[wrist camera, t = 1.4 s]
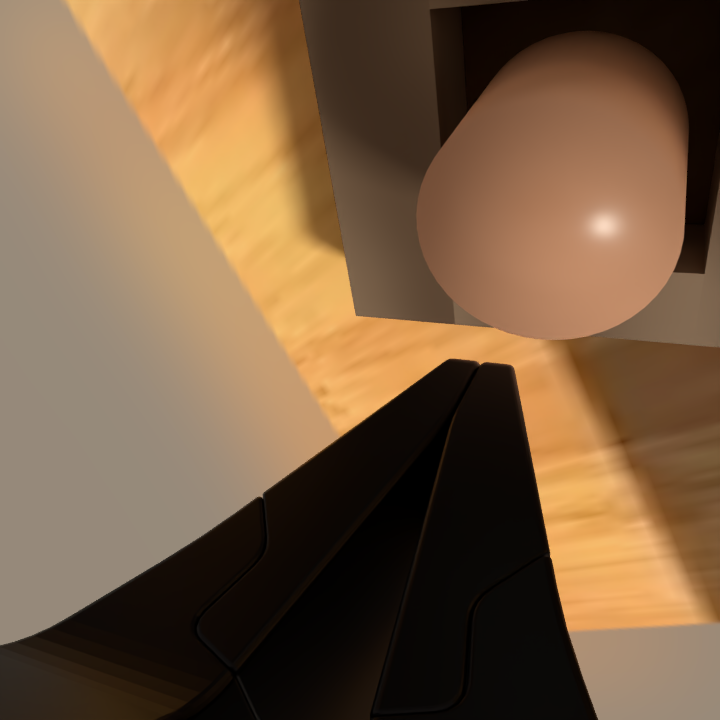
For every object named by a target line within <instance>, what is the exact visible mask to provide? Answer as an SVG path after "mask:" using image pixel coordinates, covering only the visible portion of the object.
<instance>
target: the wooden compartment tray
mask: <svg viewBox="0 0 720 720" xmlns="http://www.w3.org/2000/svg"><path fill="white" fill-rule="evenodd" d="M515 1H526V0H299V3H300V8H301V14H302V19H303V25H304V30H305V36H306V42H307V47H308V53H309V58H310V64H311V69H312V75H313V80H314V86H315V91H316V97H317V103H318V108H319V114H320V119H321V125H322V130H323V136H324V141H325V147H326V152H327V158H328V164H329V169H330V175H331V180H332V186H333V191H334V197H335V202H336V208H337V213H338V219H339V225H340V230H341V236H342V241H343V247H344V252H345V258H346V263H347V269H348V275H349V280H350V286H351V291H352V297H353V302H354V308H355V313H356V316H365V317H376V318H388V319H399V320H411V321H422V322H434V323H445V324H457V325H468V326H480V327H491V328H494V327H492V326H490V325H488V324H486V323H484V322H482V321H480V320H479V319H477V318H475V317H474V316H472V315H471V314H469V313H468V312H466V311H465V310H464V309H463V308H461V307H460V306H459V305H458V304H456V303H455V302H454V301H453V300H452V299H451V298H450V297H449V296H448V295H447V294H446V292H445V291H444V290H443V289H442V287H441V286H440V285H439V284H438V282H437V281H436V279H435V277H434V276H433V274H432V273H431V271H430V269H429V267H428V265H427V263H426V261H425V258H424V256H423V253H422V250H421V247H420V243H419V238H418V232H417V219H416V212H417V202H418V196H419V192H420V188H421V184H422V182H423V179H424V177H425V174H426V172H427V170H428V168H429V166H430V164H431V163H432V161H433V159H434V157H435V156H436V155H437V153H438V152H439V150H440V149H441V148H442V146H443V145H444V144H445V142H446V141H447V140H448V138H449V137H450V136H451V134H452V133H453V132H454V130H455V129H456V128H457V126H458V125H459V124H460V122H461V121H462V119H463V118H464V117H465V115H466V114H467V101H466V83H465V66H464V48H463V30H462V12H461V6H471V5H482V4H493V3H504V2H515ZM590 336H595V337H606V338H618V339H629V340H641V341H652V342H664V343H675V344H687V345H698V346H710V347H720V130H719V136H718V143H717V149H716V155H715V162H714V168H713V174H712V181H711V187H710V193H709V200H708V206H707V212H706V219H705V225H697V224H685V226H684V239H683V244H682V248H681V253H680V256H679V258H678V261H677V264H676V266H675V269H674V271H673V272H672V274H671V276H670V278H669V279H668V281H667V283H666V284H665V286H664V287H663V288H662V290H661V291H660V292H659V293H658V295H657V296H656V297H655V298H654V299H653V300H652V301H651V302H650V303H649V304H648V305H647V306H646V307H645V308H644V309H642V310H641V311H639V312H638V313H637V314H635V315H634V316H633V317H631V318H630V319H628V320H626V321H624V322H623V323H621V324H619V325H617V326H615V327H613V328H610V329H608V330H605V331H603V332H600V333H596V334H593V335H590Z"/></svg>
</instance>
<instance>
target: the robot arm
mask: <svg viewBox="0 0 720 720" xmlns="http://www.w3.org/2000/svg"><path fill="white" fill-rule="evenodd" d="M0 720H598V718H597V715H596V713H595V710H594V707H593V704H592V702H591V699H590V696H589V693H588V691H587V688H586V685H585V682H584V680H583V677H582V674H581V671H580V668H579V665H578V661H577V658H576V655H575V652H574V649H573V646H572V643H571V640H570V637H569V633H568V630H567V627H566V622H565V618H564V614H563V610H562V606H561V602H560V597H559V593H558V589H557V584H556V579H555V574H554V569H553V563H552V559H551V558H550V550H549V545H548V540H547V534H546V529H545V524H544V519H543V514H542V509H541V504H540V499H539V493H538V488H537V483H536V478H535V473H534V468H533V463H532V457H531V452H530V447H529V442H528V437H527V432H526V427H525V422H524V416H523V411H522V406H521V401H520V396H519V391H518V386H517V380H516V375H515V371H514V368H513V366H511V365H508V364H499V363H489V362H485V363H483V364H481V365H480V364H479V363H478V362H477V361H470V360H461V359H448V360H446V361H445V362H443V363H442V364H441V365H439V366H438V367H436V368H435V369H434V370H432V371H431V372H429V373H428V374H427V375H425V376H424V377H423V378H421V379H420V380H418V381H417V382H416V383H414V384H413V385H412V386H410V387H409V388H407V389H406V390H405V391H403V392H402V393H401V394H399V395H398V396H396V397H395V398H394V399H392V400H391V401H389V402H388V403H387V404H385V405H384V406H383V407H381V408H380V409H378V410H377V411H376V412H374V413H373V414H372V415H370V416H369V417H367V418H366V419H365V420H363V421H362V422H361V423H359V424H358V425H356V426H355V427H354V428H352V429H351V430H349V431H348V432H347V433H345V434H344V435H343V436H341V437H340V438H338V439H337V440H336V441H334V442H333V443H332V444H330V445H329V446H327V447H326V448H325V449H323V450H322V451H321V452H319V453H318V454H316V455H315V456H314V457H312V458H311V459H309V460H308V461H307V462H305V463H304V464H303V465H301V466H300V467H298V468H297V469H296V470H294V471H293V472H292V473H290V474H289V475H287V476H286V477H285V478H283V479H282V480H281V481H279V482H278V483H276V484H275V485H274V486H272V487H271V488H269V489H268V490H267V491H265V492H264V493H263V498H262V497H257V498H255V499H254V500H253V501H251V502H250V503H248V504H247V505H246V506H244V507H243V508H242V509H240V510H239V511H237V512H236V513H235V514H233V515H232V516H230V517H229V518H227V519H226V520H224V521H223V522H222V523H220V524H219V525H217V526H216V527H214V528H213V529H212V530H210V531H209V532H207V533H206V534H204V535H203V536H201V537H200V538H198V539H196V540H195V541H193V542H192V543H190V544H189V545H187V546H185V547H184V548H182V549H181V550H179V551H177V552H176V553H174V554H173V555H171V556H169V557H168V558H166V559H165V560H163V561H161V562H160V563H158V564H156V565H155V566H153V567H151V568H150V569H148V570H146V571H145V572H143V573H141V574H140V575H138V576H136V577H135V578H133V579H131V580H130V581H128V582H126V583H125V584H123V585H121V586H120V587H118V588H117V589H115V590H113V591H111V592H110V593H108V594H106V595H105V596H103V597H101V598H100V599H98V600H96V601H95V602H93V603H91V604H90V605H88V606H86V607H85V608H83V609H81V610H80V611H78V612H77V613H75V614H73V615H71V616H70V617H68V618H66V619H64V620H62V621H61V622H59V623H57V624H55V625H53V626H52V627H50V628H48V629H45V630H43V631H41V632H39V633H36V634H34V635H32V636H29V637H27V638H24V639H21V640H18V641H15V642H12V643H8V644H4V645H0Z"/></svg>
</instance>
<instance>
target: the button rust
mask: <svg viewBox="0 0 720 720" xmlns="http://www.w3.org/2000/svg"><path fill="white" fill-rule="evenodd" d="M688 140H689V119H688V111H687V106H686V102H685V98H684V96H683V93H682V91H681V89H680V86H679V84H678V82H677V81H676V79H675V77H674V76H673V74H672V73H671V71H670V70H669V69H668V68H667V67H666V65H665V64H664V63H663V62H662V61H661V60H660V59H659V58H658V57H657V56H656V55H654V54H653V53H652V52H651V51H650V50H648V49H646V48H645V47H643V46H642V45H640V44H638V43H636V42H634V41H632V40H630V39H628V38H625V37H622V36H619V35H615V34H612V33H607V32H600V31H574V32H567V33H561V34H558V35H554V36H551V37H547V38H545V39H543V40H540V41H538V42H536V43H534V44H532V45H530V46H529V47H527V48H525V49H523V50H522V51H520V52H519V53H518V54H516V55H515V56H514V57H513V58H511V59H510V60H509V61H508V62H507V63H506V64H505V65H504V66H503V67H502V68H501V69H500V70H499V71H498V73H497V74H496V75H495V76H494V78H493V79H492V80H491V82H490V83H489V84H488V86H487V87H486V88H485V90H484V91H483V92H482V94H481V95H480V97H479V98H478V99H477V101H476V102H475V103H474V105H473V106H472V107H471V109H470V110H469V111H468V113H467V114H466V115H465V117H464V118H463V119H462V121H461V122H460V124H459V125H458V126H457V128H456V129H455V130H454V132H453V133H452V134H451V136H450V137H449V138H448V140H447V141H446V142H445V144H444V145H443V146H442V148H441V149H440V150H439V152H438V153H437V155H436V156H435V157H434V159H433V161H432V163H431V164H430V166H429V168H428V170H427V172H426V174H425V177H424V179H423V182H422V184H421V188H420V192H419V196H418V202H417V212H416V219H417V232H418V238H419V243H420V247H421V250H422V253H423V256H424V258H425V261H426V263H427V265H428V267H429V269H430V271H431V273H432V274H433V276H434V277H435V279H436V281H437V282H438V284H439V285H440V286H441V287H442V289H443V290H444V291H445V292H446V294H447V295H448V296H449V297H450V298H451V299H452V300H453V301H454V302H455V303H456V304H458V305H459V306H460V307H461V308H463V309H464V310H465V311H466V312H468V313H469V314H471V315H472V316H474V317H475V318H477V319H479V320H480V321H482V322H484V323H486V324H488V325H490V326H492V327H494V328H496V329H499V330H502V331H505V332H507V333H510V334H514V335H518V336H522V337H527V338H534V339H545V340H562V339H574V338H580V337H585V336H590V335H593V334H596V333H600V332H603V331H605V330H608V329H610V328H613V327H615V326H617V325H619V324H621V323H623V322H624V321H626V320H628V319H630V318H631V317H633V316H634V315H635V314H637V313H638V312H639V311H641V310H642V309H644V308H645V307H646V306H647V305H648V304H649V303H650V302H651V301H652V300H653V299H654V298H655V297H656V296H657V295H658V293H659V292H660V291H661V290H662V288H663V287H664V286H665V284H666V283H667V281H668V279H669V278H670V276H671V274H672V272H673V271H674V269H675V266H676V264H677V261H678V258H679V256H680V253H681V248H682V244H683V239H684V226H685V206H686V184H687V162H688Z"/></svg>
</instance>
